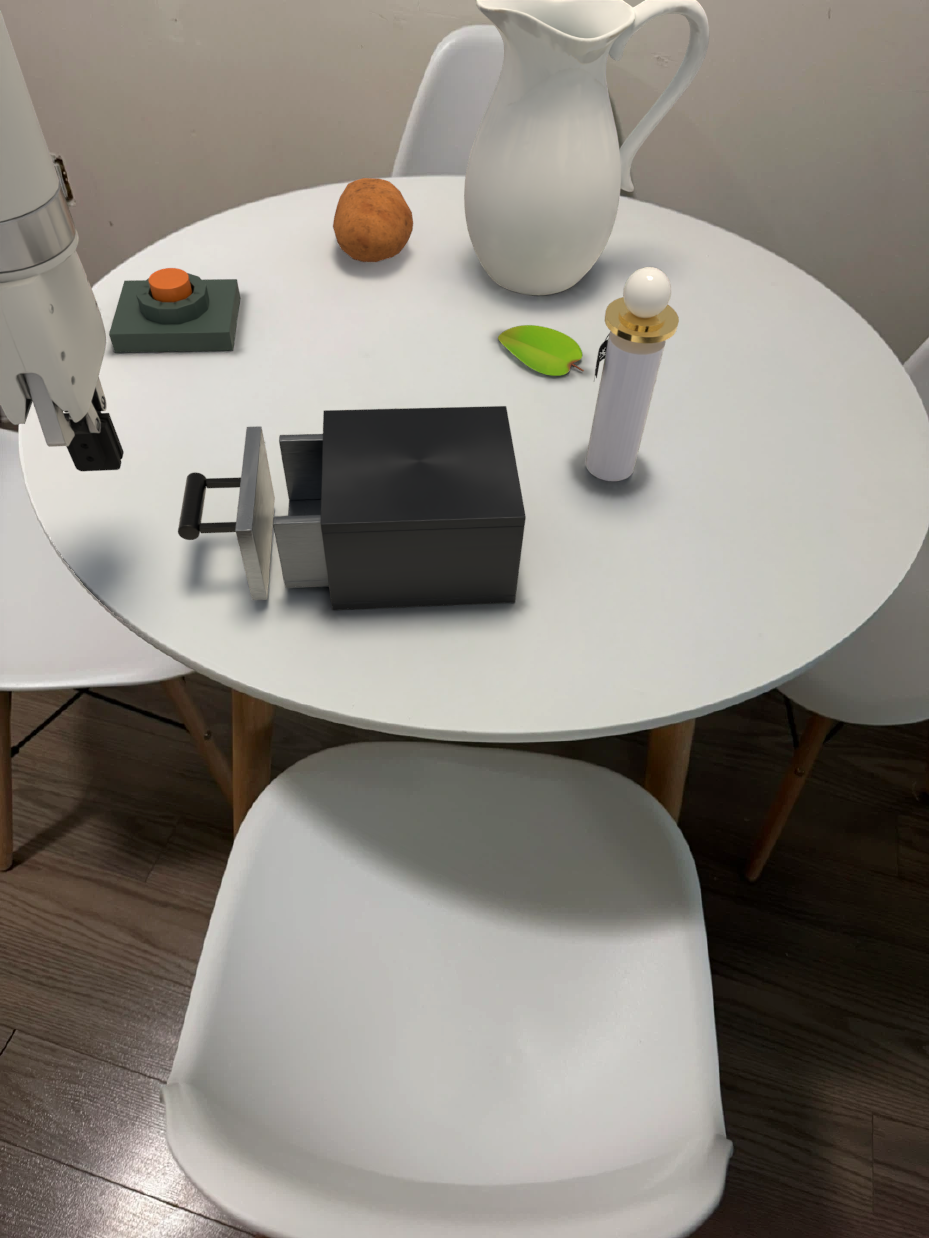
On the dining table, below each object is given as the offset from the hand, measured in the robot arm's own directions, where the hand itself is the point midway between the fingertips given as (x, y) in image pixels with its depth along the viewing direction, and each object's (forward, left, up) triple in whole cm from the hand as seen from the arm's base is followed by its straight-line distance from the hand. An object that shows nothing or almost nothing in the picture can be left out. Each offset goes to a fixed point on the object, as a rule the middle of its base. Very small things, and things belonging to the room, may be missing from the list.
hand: (101, 463), depth 65 cm
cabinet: (+24, 0, -10) cm, 26 cm away
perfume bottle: (+42, +9, -11) cm, 44 cm away
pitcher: (+43, +44, -11) cm, 62 cm away
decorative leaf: (+38, +27, -10) cm, 47 cm away
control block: (0, +34, -10) cm, 35 cm away
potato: (+21, +48, -11) cm, 53 cm away
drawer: (+14, 0, -9) cm, 17 cm away
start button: (0, +34, -7) cm, 34 cm away
